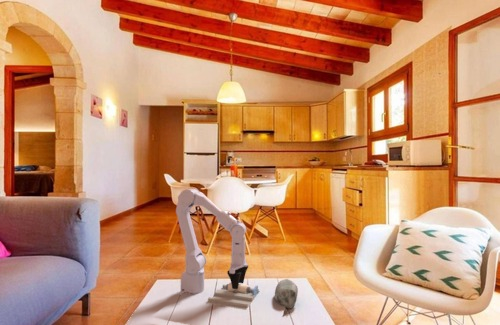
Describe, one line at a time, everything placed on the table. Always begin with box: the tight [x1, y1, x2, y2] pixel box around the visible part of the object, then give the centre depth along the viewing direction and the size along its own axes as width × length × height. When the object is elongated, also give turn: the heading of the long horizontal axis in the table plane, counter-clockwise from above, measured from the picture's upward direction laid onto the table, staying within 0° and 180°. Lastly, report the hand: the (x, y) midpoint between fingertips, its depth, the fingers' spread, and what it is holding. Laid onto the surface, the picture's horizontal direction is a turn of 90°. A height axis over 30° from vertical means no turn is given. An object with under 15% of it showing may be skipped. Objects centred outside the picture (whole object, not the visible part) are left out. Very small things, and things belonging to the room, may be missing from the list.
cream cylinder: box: [225, 282, 252, 294], centre depth 123 cm, size 10×4×4 cm, turn 72°
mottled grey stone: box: [274, 278, 299, 310], centre depth 118 cm, size 14×10×10 cm
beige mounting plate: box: [206, 284, 260, 310], centre depth 120 cm, size 16×18×4 cm
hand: (238, 285), depth 124 cm, fingers open, 6 cm apart
